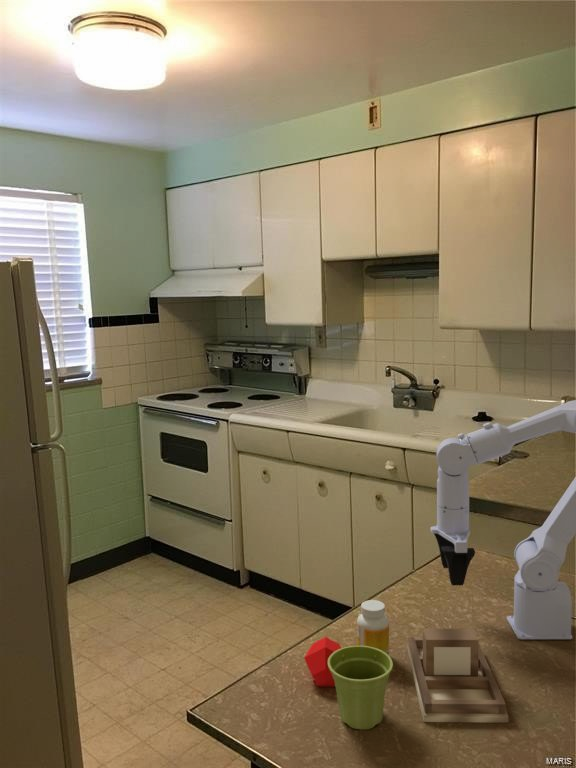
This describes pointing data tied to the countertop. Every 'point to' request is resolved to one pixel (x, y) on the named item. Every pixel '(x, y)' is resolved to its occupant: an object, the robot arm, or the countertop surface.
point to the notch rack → (456, 692)
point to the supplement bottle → (373, 626)
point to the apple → (321, 661)
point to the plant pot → (360, 684)
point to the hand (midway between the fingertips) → (452, 575)
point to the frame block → (450, 652)
